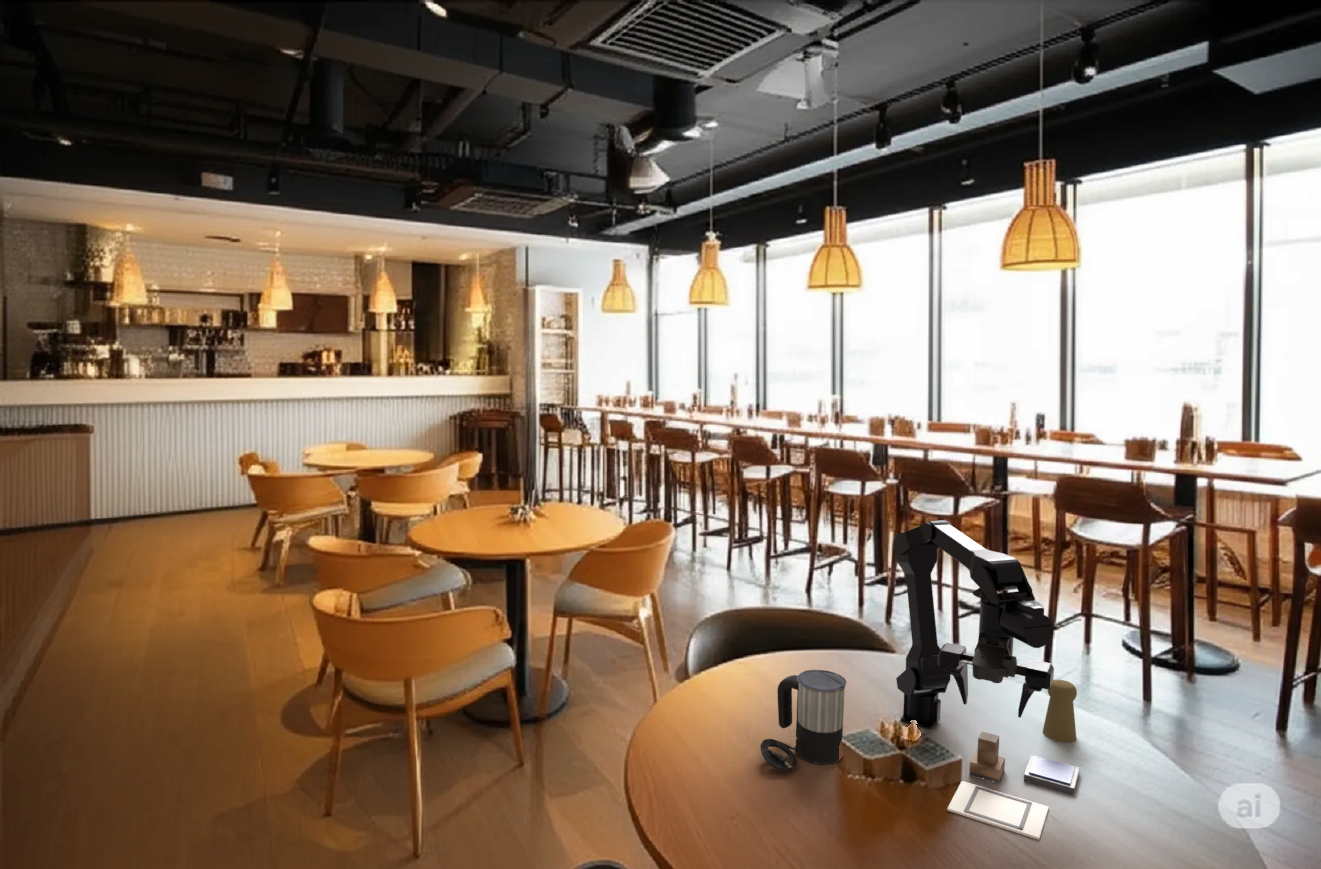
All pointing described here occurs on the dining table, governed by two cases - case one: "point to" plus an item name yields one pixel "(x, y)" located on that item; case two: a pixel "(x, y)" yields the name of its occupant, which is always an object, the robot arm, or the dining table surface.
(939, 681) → the robot arm
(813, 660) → the dining table surface
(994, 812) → the print card
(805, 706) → the milk frother
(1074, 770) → the ink pad
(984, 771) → the stamp
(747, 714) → the dining table surface
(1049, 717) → the cork
